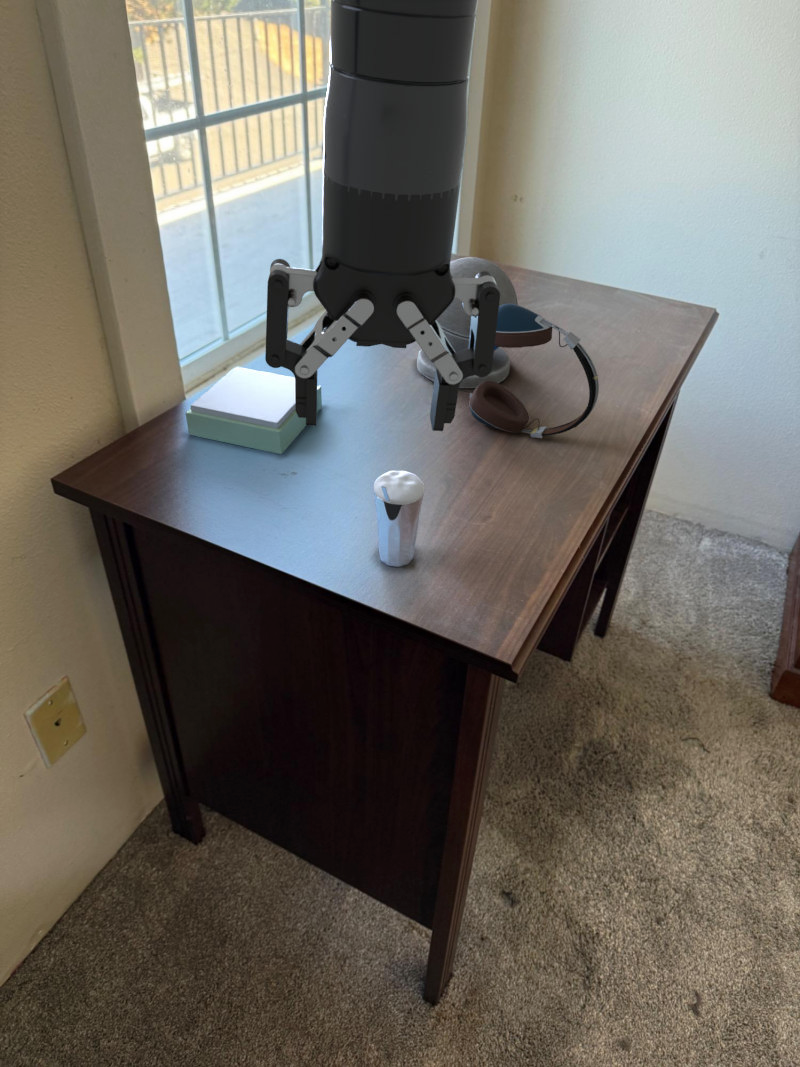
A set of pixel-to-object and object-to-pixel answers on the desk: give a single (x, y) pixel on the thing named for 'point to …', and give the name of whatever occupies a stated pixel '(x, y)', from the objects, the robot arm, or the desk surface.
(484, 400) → the headphones
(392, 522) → the milkshake
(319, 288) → the robot arm
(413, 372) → the desk surface
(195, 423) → the scale
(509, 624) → the desk surface
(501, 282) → the webcam
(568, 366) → the desk surface
